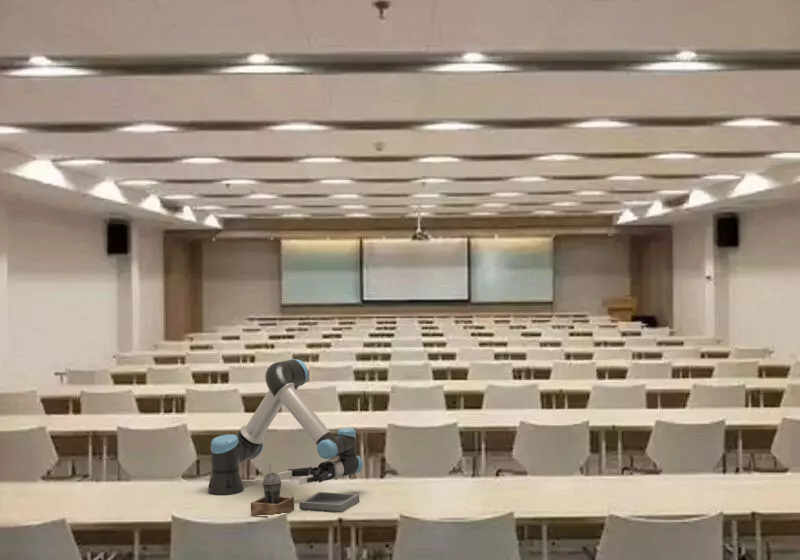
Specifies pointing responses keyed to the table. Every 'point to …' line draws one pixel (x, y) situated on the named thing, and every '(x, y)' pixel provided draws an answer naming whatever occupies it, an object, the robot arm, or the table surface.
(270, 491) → the beverage cup
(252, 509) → the brown wooden box
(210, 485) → the robot arm
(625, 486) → the table surface
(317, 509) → the tray
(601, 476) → the table surface
